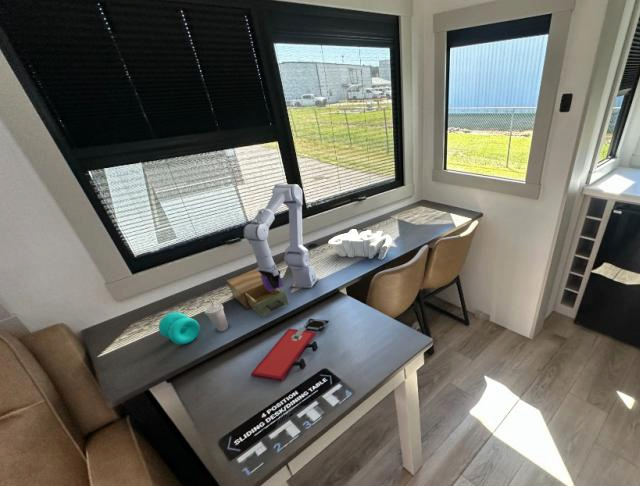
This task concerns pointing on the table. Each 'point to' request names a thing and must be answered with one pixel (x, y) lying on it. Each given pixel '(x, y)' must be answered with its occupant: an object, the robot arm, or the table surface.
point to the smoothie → (217, 315)
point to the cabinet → (245, 285)
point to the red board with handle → (289, 351)
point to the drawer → (266, 300)
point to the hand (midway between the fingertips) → (273, 285)
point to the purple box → (268, 285)
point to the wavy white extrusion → (361, 244)
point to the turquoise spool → (179, 328)
